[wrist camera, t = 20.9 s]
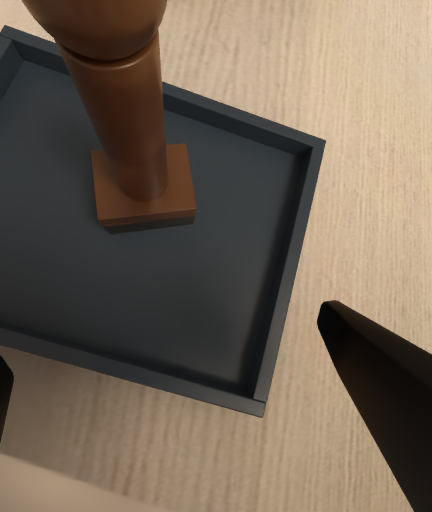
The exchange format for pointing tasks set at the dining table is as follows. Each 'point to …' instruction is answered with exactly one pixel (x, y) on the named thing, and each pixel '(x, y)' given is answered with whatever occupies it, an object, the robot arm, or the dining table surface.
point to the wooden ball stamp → (123, 109)
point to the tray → (148, 240)
